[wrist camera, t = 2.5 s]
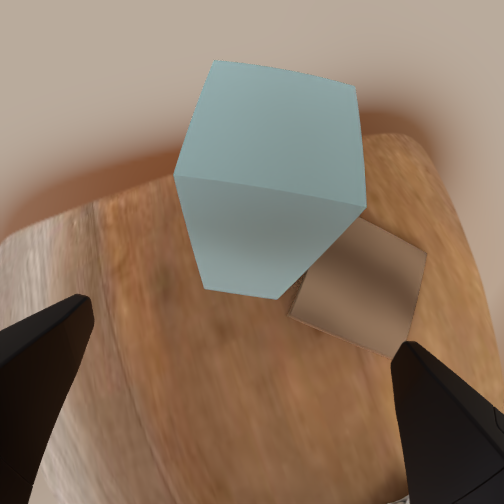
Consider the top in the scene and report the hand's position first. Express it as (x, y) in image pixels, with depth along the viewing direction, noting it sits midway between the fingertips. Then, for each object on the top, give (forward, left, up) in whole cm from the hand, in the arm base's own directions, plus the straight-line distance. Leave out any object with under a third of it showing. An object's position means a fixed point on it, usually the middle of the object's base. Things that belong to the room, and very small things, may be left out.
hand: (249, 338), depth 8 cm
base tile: (+9, -5, -13) cm, 17 cm away
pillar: (+5, +3, -12) cm, 14 cm away
